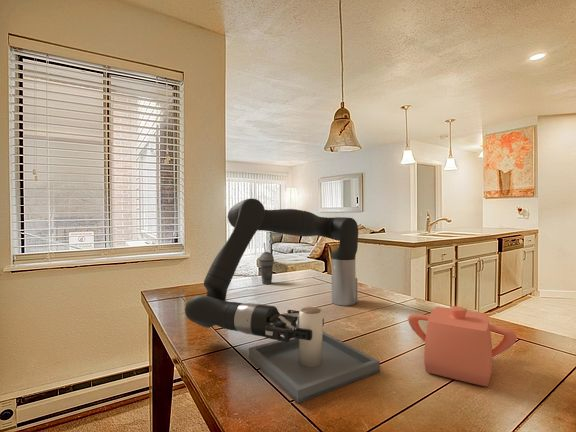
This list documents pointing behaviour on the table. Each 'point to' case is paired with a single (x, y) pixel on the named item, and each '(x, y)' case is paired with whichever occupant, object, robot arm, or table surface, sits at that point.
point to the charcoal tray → (313, 380)
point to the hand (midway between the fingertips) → (317, 328)
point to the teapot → (460, 343)
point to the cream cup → (312, 348)
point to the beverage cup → (266, 266)
